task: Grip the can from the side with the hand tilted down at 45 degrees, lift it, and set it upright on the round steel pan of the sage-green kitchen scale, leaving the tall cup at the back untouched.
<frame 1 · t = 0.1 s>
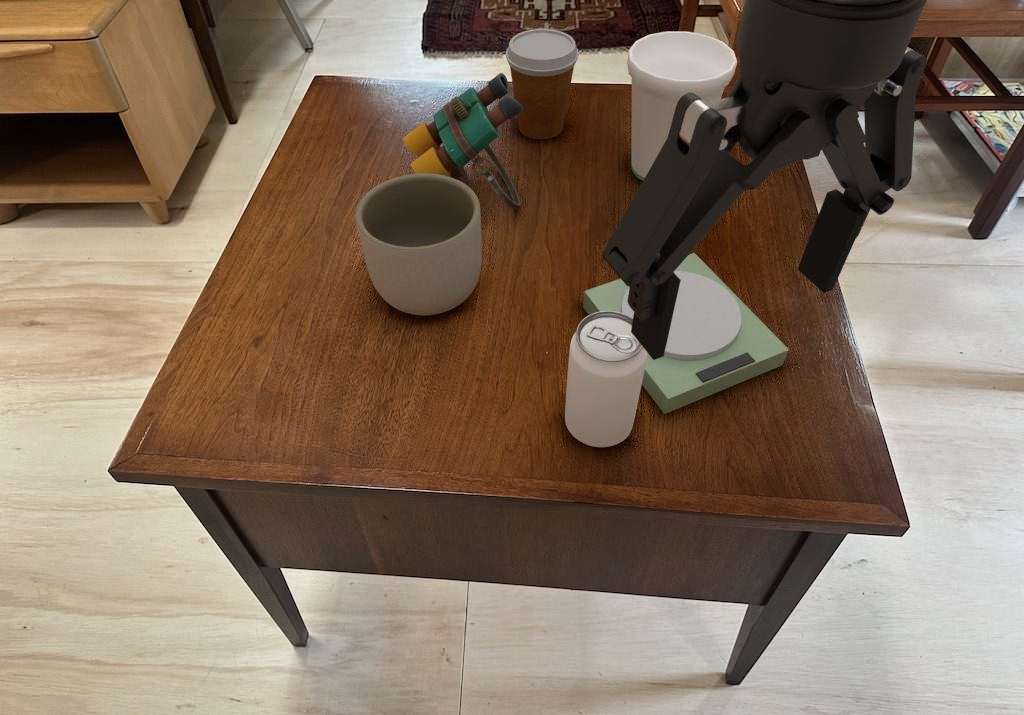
hand: (734, 310, 47), 21 cm above the table, tool pointing down, fingers open, 13 cm apart
disposable coffee cup: (540, 128, 100), on the table
cup: (662, 169, 93), on the table
scale: (678, 335, 74), on the table
can: (598, 422, 67), on the table
planter: (429, 289, 79), on the table
binoculars: (466, 202, 89), on the table
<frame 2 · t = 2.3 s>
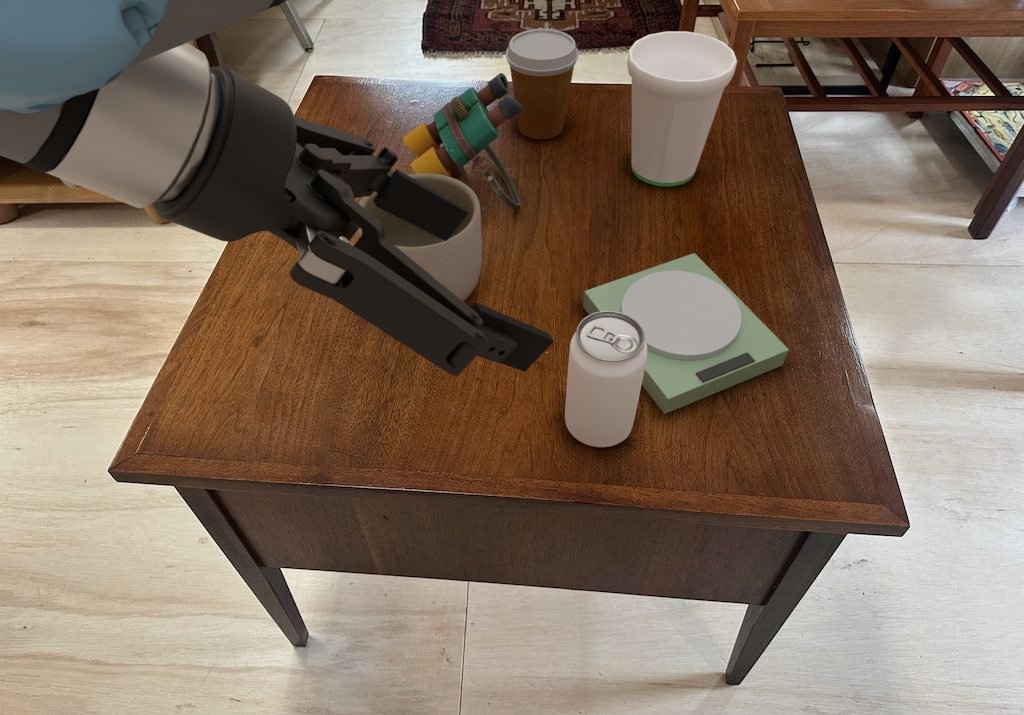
hand: (493, 283, 47), 22 cm above the table, tool tilted 45°, fingers open, 13 cm apart
nothing on the table moved.
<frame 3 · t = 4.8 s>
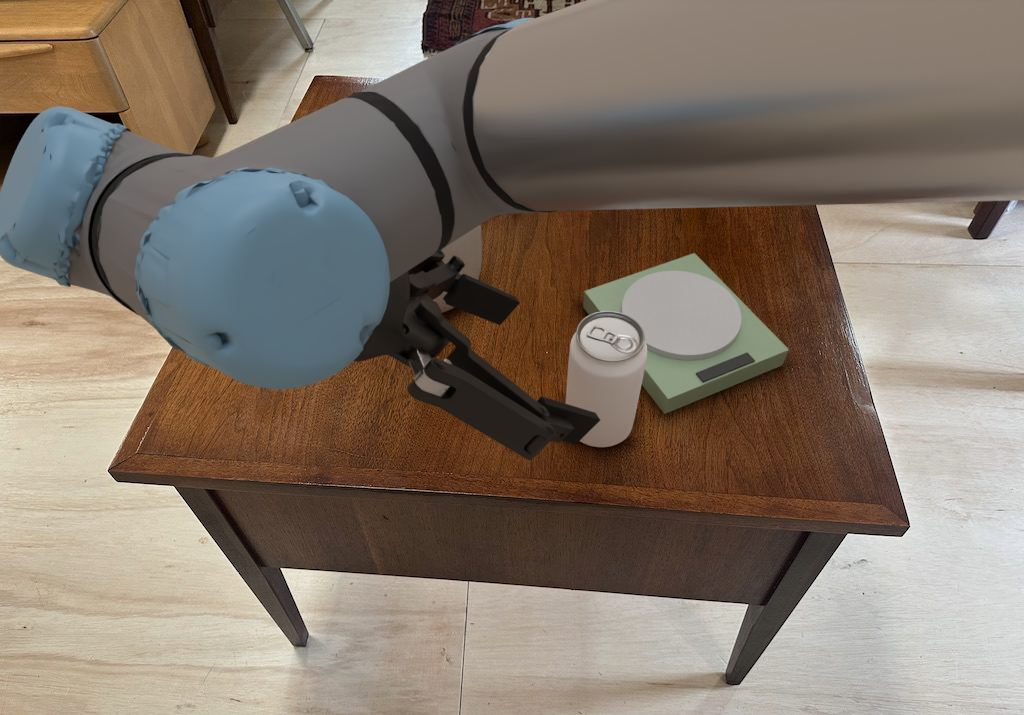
hand: (544, 365, 57), 11 cm above the table, tool tilted 45°, fingers open, 13 cm apart
nothing on the table moved.
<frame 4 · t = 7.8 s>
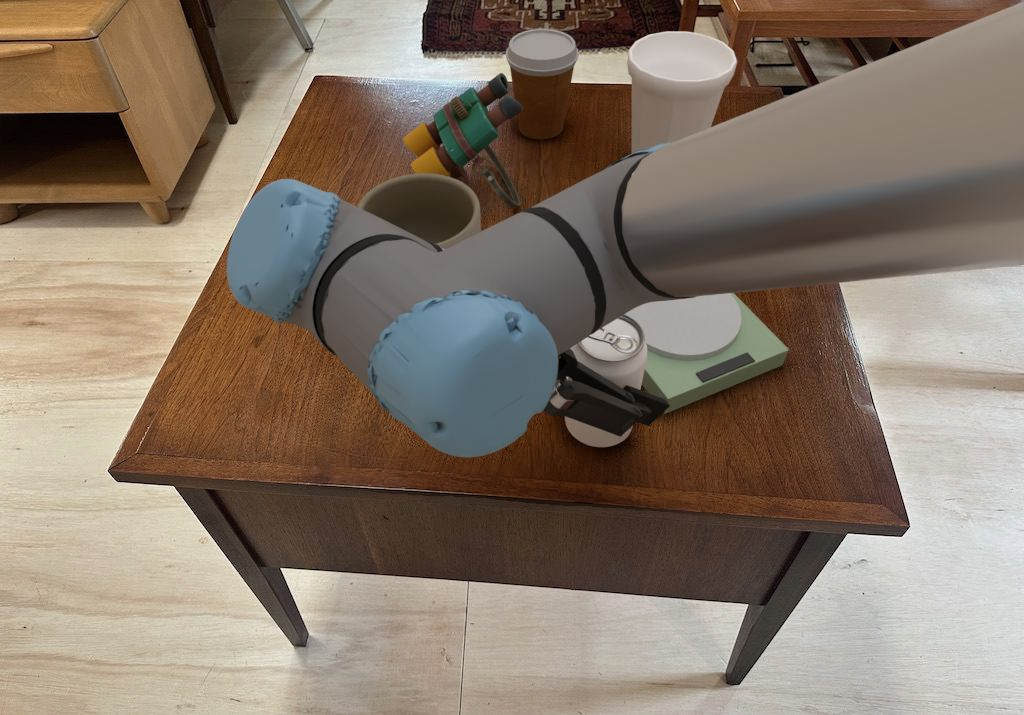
hand: (635, 384, 65), 4 cm above the table, tool tilted 45°, fingers closed on can, 6 cm apart
can: (598, 422, 67), on the table, touching gripper
everything else where it was.
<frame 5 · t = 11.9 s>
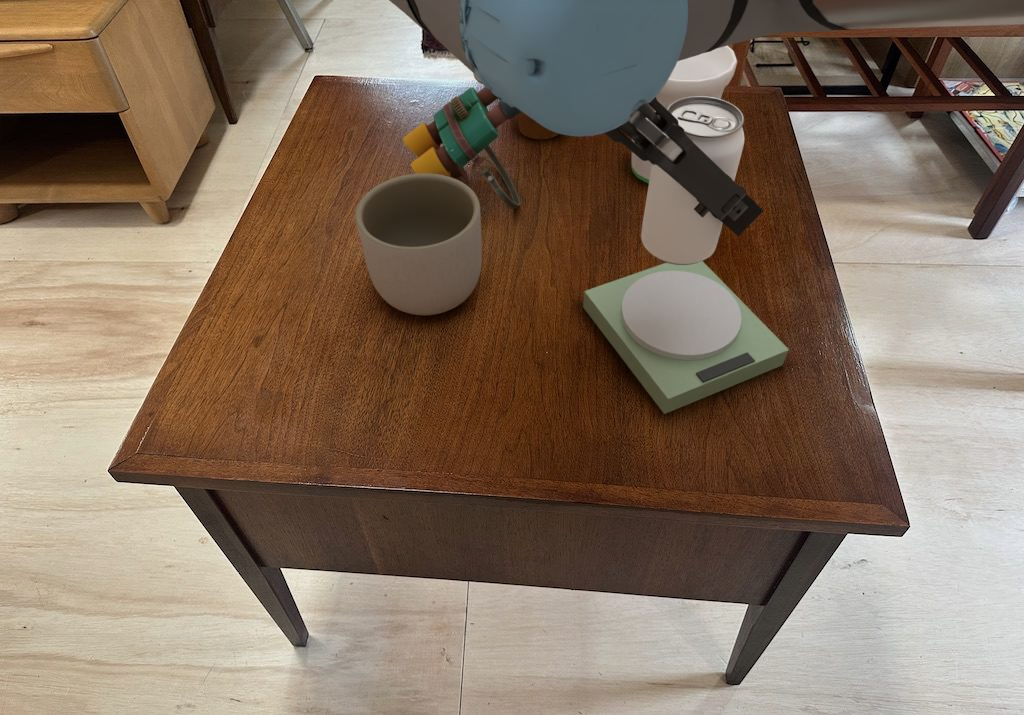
hand: (720, 196, 59), 18 cm above the table, tool tilted 45°, fingers closed on can, 6 cm apart
can: (677, 244, 61), point 15 cm above the table, touching gripper
everything else where it was.
when the fingers open (7 cm above the table, at t = 16.0 s): can stays where it is, resting on scale.
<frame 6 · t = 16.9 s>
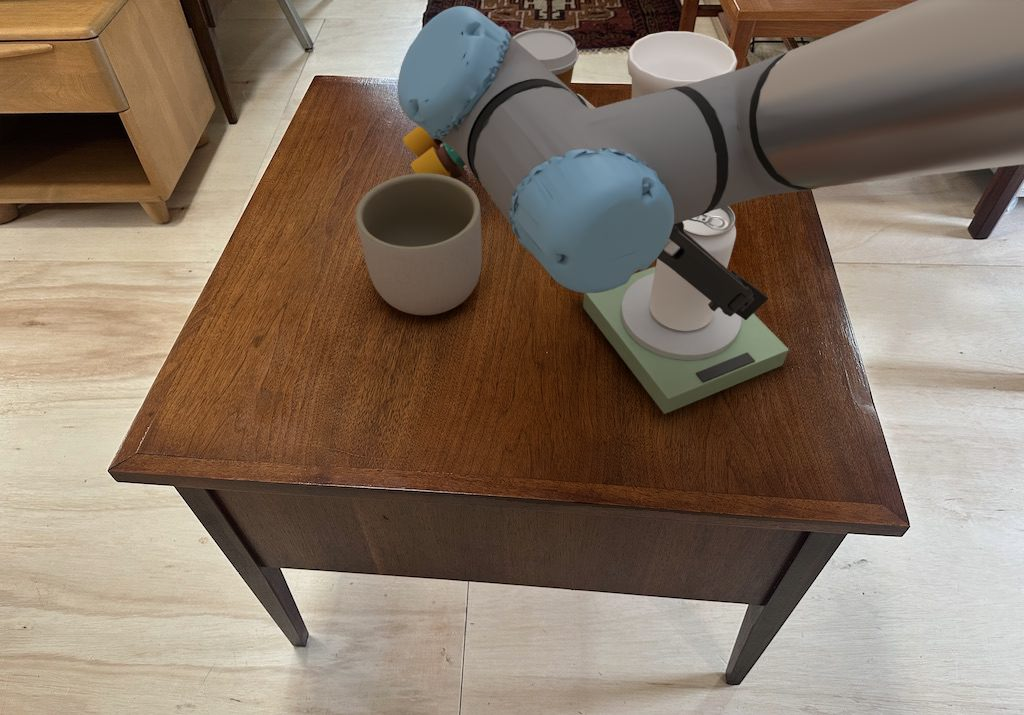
hand: (710, 261, 68), 9 cm above the table, tool tilted 45°, fingers open, 13 cm apart
can: (680, 311, 72), point 3 cm above the table, touching scale
everything else where it was.
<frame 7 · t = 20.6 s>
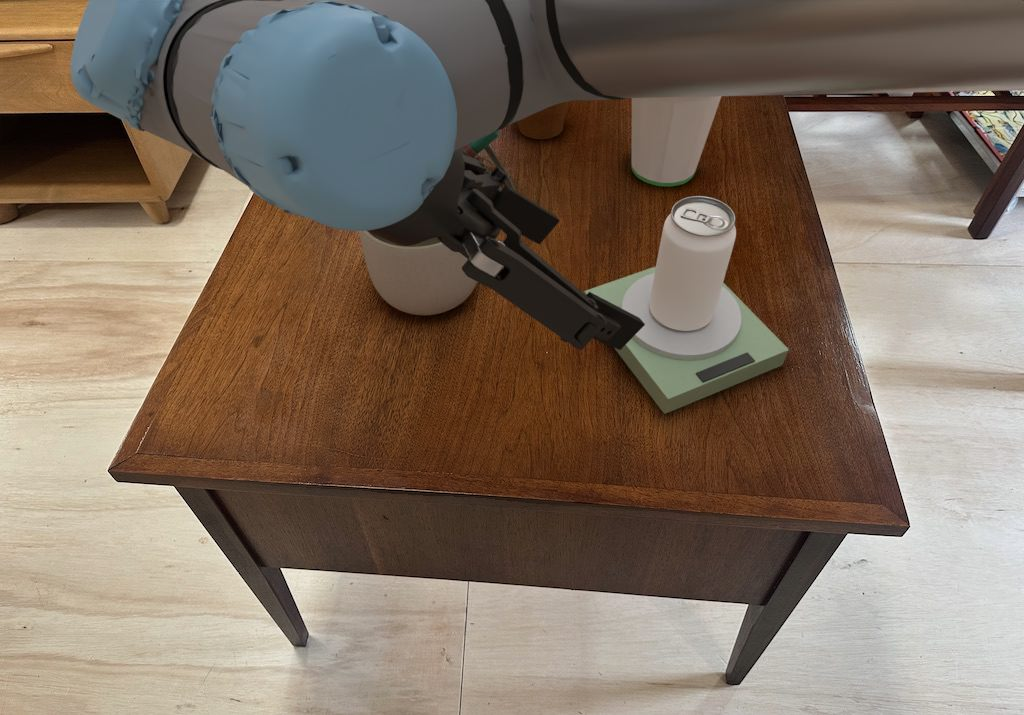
hand: (586, 278, 57), 16 cm above the table, tool tilted 45°, fingers open, 13 cm apart
nothing on the table moved.
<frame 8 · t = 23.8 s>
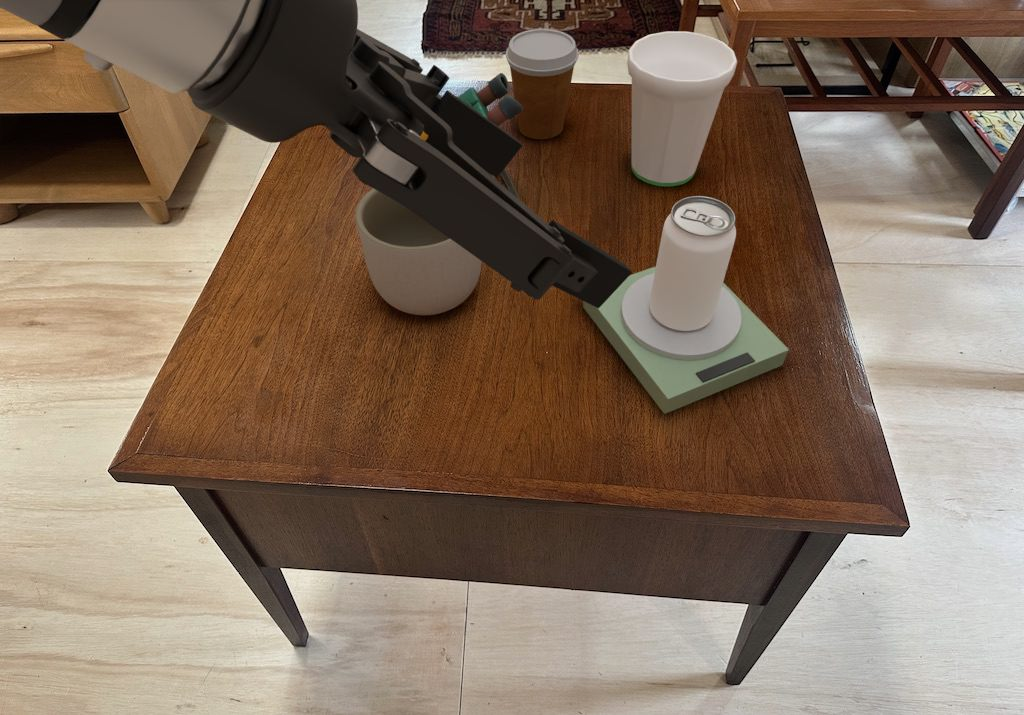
hand: (555, 216, 43), 28 cm above the table, tool tilted 45°, fingers open, 13 cm apart
nothing on the table moved.
at the end: can inside the target area on the scale (0.1 cm from its centre), point 3.0 cm above the scale's base; can tilted 0°; cup moved 0.2 cm from its start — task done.
